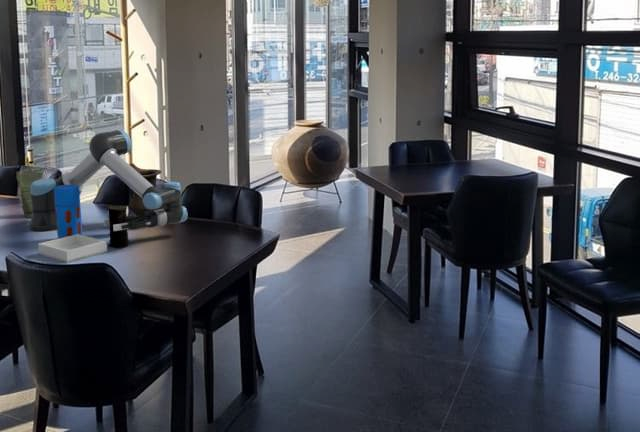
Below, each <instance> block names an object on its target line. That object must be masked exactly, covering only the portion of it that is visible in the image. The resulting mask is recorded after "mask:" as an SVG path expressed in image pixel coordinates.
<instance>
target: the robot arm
mask: <svg viewBox="0 0 640 432" xmlns="http://www.w3.org/2000/svg"><path fill="white" fill-rule="evenodd" d="M88 146H89V148H88V149H89V152H90V153H88V155H87V156H86V157H85V158H84V159H83V160H82V161H80V162H79V164H77V165H76V166H75V167H74V168H73V169H72V170H71V171H67V172H64V173H62V175H61V176H59V178H56V179H54V178H42V179H40V180H37V181H34V182H33V183H32V184H31V186H30V188H31V190H30V193H31V202H32V217H30V223H29V229H30V230H31V231H33V232H34V231H35V232H48V231H49V232H50V231H54V230H55V231H56V230H57V221H56V209H55V196H54V187H56V186H60V185H78V186H79V193H80V195H81V194H82V192H83V191H82V189H83V188H84V185H85V183H86V182H87V181H89V180H90V179H91V178H92V177H93V176H94V175H96V173H98V172H99V171H100V170H101V169H102V168H103V167H104V166H105V167H106V168H107V169H109V171H111V172H112V173H113V174H114V175H115V176H117V178H118V179H120V181H122V182H123V183H125V184H126V185H127V186H128V188H129V187H130V188H131V189H132V190H133V191H135V192H136V193H137V194H138V195H139V196H140V197H141V198H143V204H144V206H145V207H146V208H147V209H150V210H152V209H158V208H160V207H162V206H165V208H164V209H159V210H154V211H147V212H145V214H144V216H142V215H139V216H138V215H135V214H134V215H128V216H127V223H122V224H115V225H113V230H114V231H118V230H124V229H127V230H137V229H141V228H146V227H147V228H149V229H150V228H155V227H161V228H162V227H163V226H166V225H172V224H173V225H174V224H179V223H183V222H185V221H187V219H188V210H187V208H186V206H183V205H182V188H181V183H180V182H178V181H168V182H165V183H164V185H163V186H164V187H163V188H162V189H158V188H157V187H156V188H155V187H154V186H153V185H152V184H151V183H149V182H148V181H147V180H146V179H145V178H144V177H143V176H141V175H140V174H139V173H138V172H137V171H136V170H135V169H134V168H132V167H131V166H130V165H129V164H130V163H128V162H127V161H126V160H124V159H123V158H122V157H121V156H122V155H126V154H128V153H129V152H130V151H131V149H132V141H131V138H130V136H129V134H128V133H127V132H126V131H124V130H122V129H121V130H120V129H115V130H110V131H105V132H104V131H103V132H99V133H96V134H95V135H93V136H92V138H91V139H90V141H89V145H88ZM103 226H104V228H105V227H109V219H104V220H103Z"/></svg>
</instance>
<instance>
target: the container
mask: <svg viewBox="0 0 640 432" xmlns="http://www.w3.org/2000/svg"><path fill="white" fill-rule="evenodd" d="M127 207H128V205H123V204H116V205H115V204H113V205H110V206H107V213H108V212H109V215H108V220H109V226H108V227H109V240H108V241H109V244H108V246H109V247H110V248H111V249H124V248H128V247H129V246H130V239H129V232H128V229H124V230H118V231H114V230H113V225H115V224H122V223H127V215H126V211H127V210H126V209H127Z"/></svg>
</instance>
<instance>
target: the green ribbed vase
mask: <svg viewBox="0 0 640 432" xmlns="http://www.w3.org/2000/svg"><path fill="white" fill-rule="evenodd" d="M44 170H45V168H42V167H41V168H38V169H34V170H33V169H31V168H29V169H28V170H26V169H25V170H18V171H16V172H15V173H16V176H15V177H16V180H17V183H18V185H19V189H20V197H21V203H22V205H21V208H22V212H23V216H24V218H31V217H32V202H31V193H30V190H31V188H30V186H31V184H32V183H33V182H34V181H37V180H40V179H43V178H42V176H43V175H44Z"/></svg>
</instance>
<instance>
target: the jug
mask: <svg viewBox="0 0 640 432" xmlns="http://www.w3.org/2000/svg"><path fill="white" fill-rule="evenodd" d="M128 164H129V165H130V166H131V167H132V168H134V169H135V170H136V171H137V172H138V173H139V174H140V175H141V176H143V177H144V178H145V179H146V180H147V181H148V182H149V183H151V184H152V185H153V186H154V187H155V188H156V189H157V177H158V175H160V174H162V170H161V169H155V168H154V169H151V168H150V169H149V168H147V169H146V168H141V167H138V166H137V165H136V164H135V163H134V162H133V163H132V162H131V163H128ZM128 189H129V194H130V198H131V200H130V202H129V204H128V205H127V207H128V210H129V211H131V212H132V213H133V214H134V215H138V216H139V215H142V216H144V214H145V212H147V211H154V210H159V209H165V206H162V207H160V208H158V209H152V210H150V209H147V208H146V207H145V206H144V204H143V198H141V197H140V196H139V195H138V194H137V193H136V192H135V191H133V190H132V189H131V188H130V187H129V186H128Z"/></svg>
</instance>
